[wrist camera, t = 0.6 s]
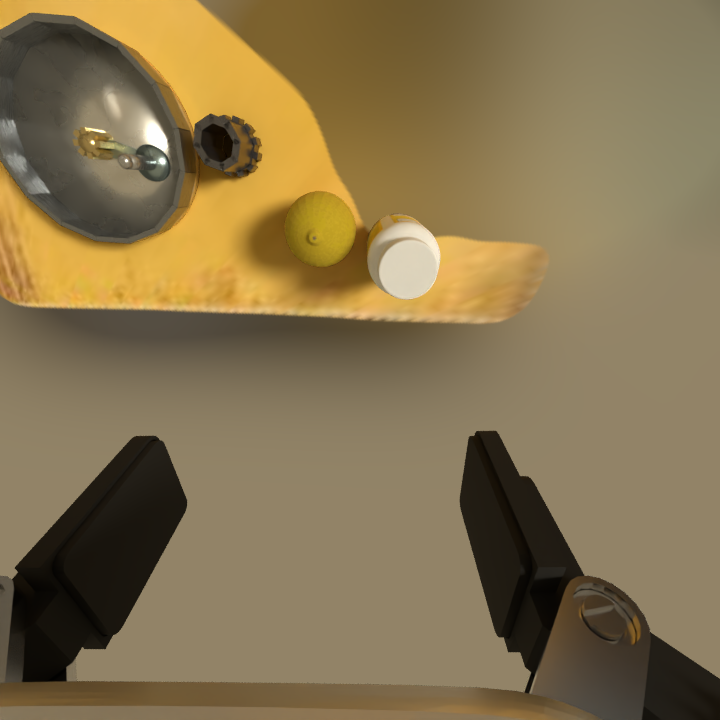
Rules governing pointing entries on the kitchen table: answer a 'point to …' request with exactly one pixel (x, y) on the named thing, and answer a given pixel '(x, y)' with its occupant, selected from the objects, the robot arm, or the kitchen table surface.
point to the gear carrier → (93, 130)
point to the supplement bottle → (402, 256)
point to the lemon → (320, 229)
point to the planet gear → (212, 139)
